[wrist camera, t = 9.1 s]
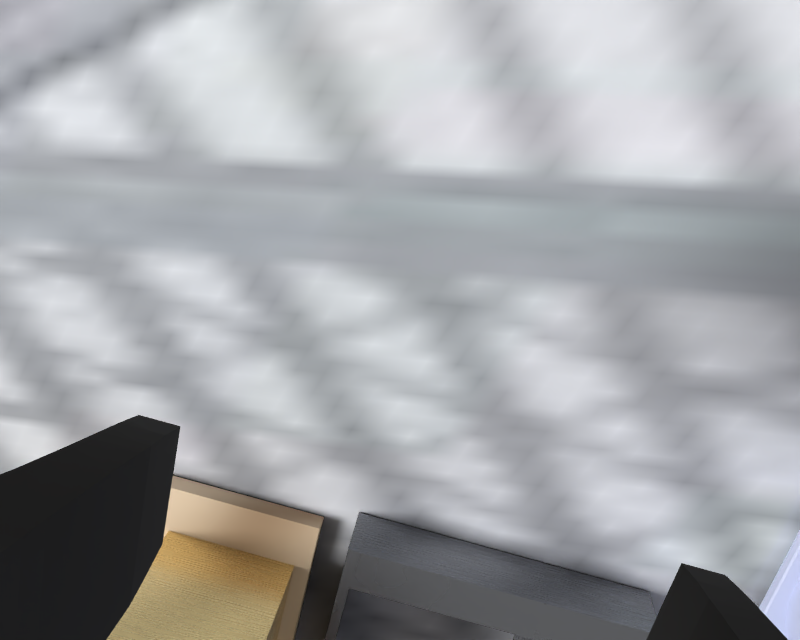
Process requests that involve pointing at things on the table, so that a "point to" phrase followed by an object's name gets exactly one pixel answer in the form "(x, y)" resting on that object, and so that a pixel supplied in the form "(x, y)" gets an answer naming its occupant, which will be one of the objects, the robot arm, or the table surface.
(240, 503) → the coaster
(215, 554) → the brushed brass bar
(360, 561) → the grey square frame
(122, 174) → the table surface
